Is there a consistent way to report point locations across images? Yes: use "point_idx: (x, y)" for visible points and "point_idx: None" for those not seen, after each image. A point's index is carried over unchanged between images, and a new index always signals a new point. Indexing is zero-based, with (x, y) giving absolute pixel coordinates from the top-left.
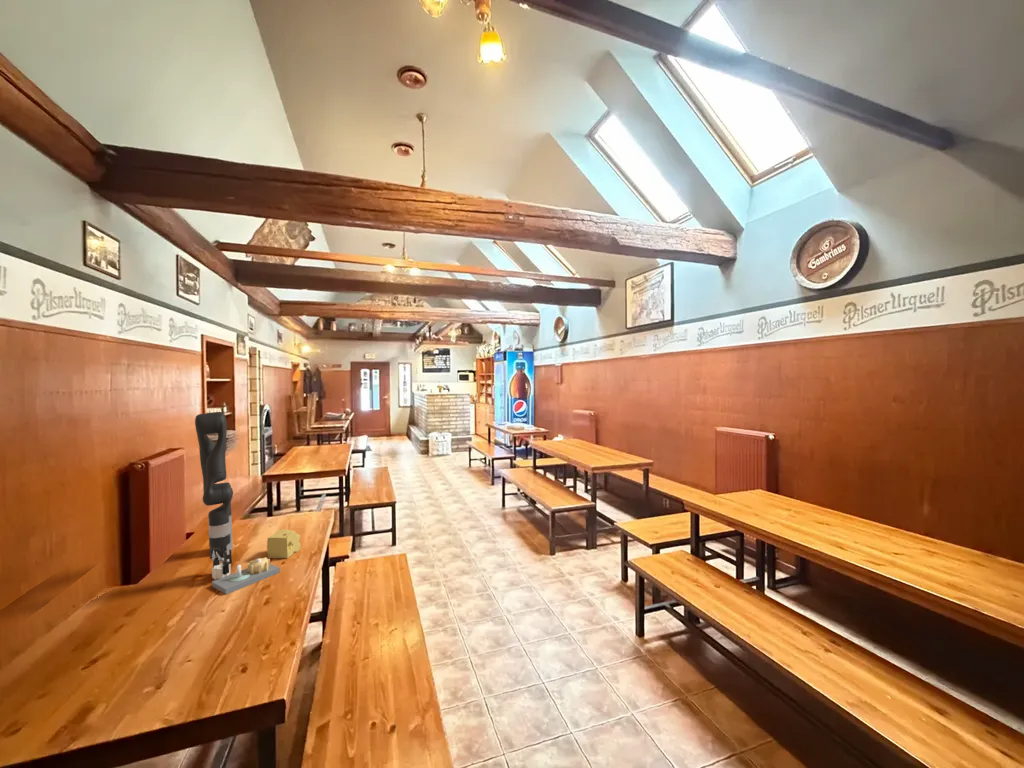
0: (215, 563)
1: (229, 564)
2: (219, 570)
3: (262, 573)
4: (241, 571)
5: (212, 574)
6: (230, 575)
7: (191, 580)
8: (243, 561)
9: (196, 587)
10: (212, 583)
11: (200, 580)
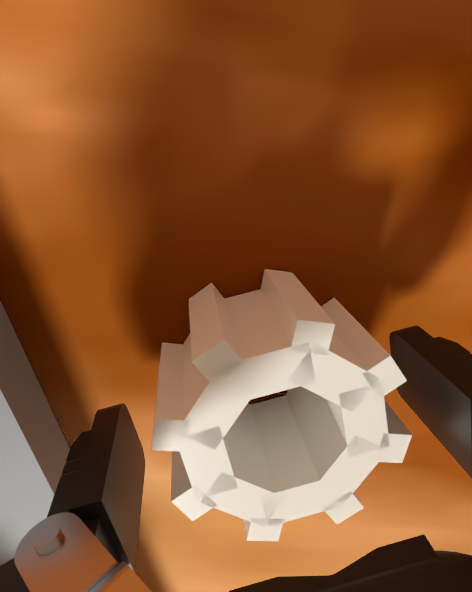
0: (443, 398)
1: (265, 531)
2: (189, 398)
3: None
4: None
5: (273, 291)
6: (7, 468)
7: (426, 34)
8: (454, 551)
9: (93, 45)
10: None
11: (319, 138)
